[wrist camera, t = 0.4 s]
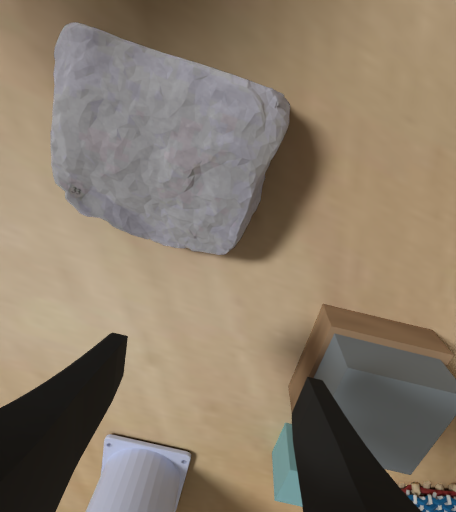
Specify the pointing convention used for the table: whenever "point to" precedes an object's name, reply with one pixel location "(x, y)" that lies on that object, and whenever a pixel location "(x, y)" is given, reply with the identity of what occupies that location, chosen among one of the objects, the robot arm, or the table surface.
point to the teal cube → (286, 469)
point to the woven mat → (431, 496)
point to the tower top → (390, 398)
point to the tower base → (364, 330)
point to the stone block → (160, 140)
